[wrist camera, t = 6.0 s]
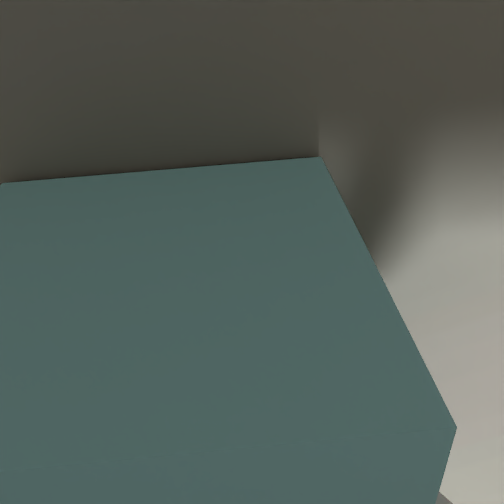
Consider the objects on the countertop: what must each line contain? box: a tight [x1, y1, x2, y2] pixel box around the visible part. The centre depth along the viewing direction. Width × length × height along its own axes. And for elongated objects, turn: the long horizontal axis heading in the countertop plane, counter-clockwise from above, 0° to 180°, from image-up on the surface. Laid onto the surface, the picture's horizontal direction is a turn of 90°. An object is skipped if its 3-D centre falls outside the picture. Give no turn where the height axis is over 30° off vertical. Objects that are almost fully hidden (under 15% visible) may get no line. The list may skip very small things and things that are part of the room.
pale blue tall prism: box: [0, 157, 457, 504], centre depth 10 cm, size 6×12×6 cm, turn 3°
